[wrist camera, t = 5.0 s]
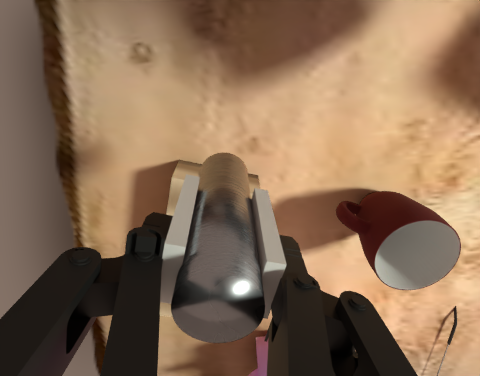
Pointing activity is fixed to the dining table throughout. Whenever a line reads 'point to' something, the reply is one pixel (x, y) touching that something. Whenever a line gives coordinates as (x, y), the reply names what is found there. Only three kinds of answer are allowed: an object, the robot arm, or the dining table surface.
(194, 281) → the pin
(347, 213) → the mug
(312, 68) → the dining table surface
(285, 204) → the dining table surface
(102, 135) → the dining table surface
